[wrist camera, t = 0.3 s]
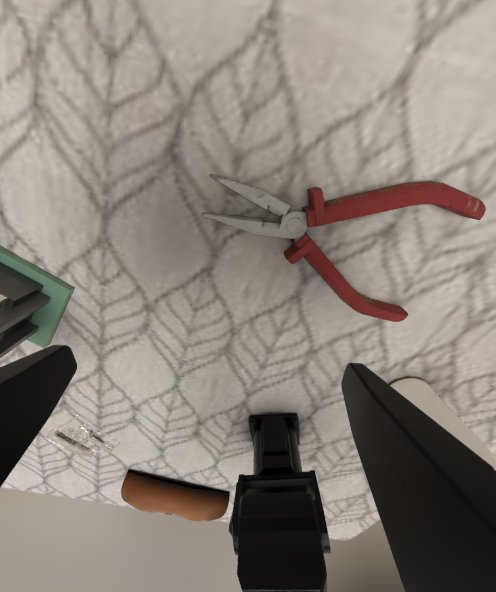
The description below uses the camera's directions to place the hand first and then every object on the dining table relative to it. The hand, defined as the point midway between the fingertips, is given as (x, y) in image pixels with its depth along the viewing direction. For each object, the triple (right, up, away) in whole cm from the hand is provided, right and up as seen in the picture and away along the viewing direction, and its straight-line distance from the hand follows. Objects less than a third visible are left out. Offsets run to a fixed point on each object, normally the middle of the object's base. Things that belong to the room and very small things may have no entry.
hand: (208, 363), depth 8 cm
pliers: (+9, +9, +12) cm, 17 cm away
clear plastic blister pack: (-23, -19, +27) cm, 40 cm away
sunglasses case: (-12, -32, +34) cm, 48 cm away
